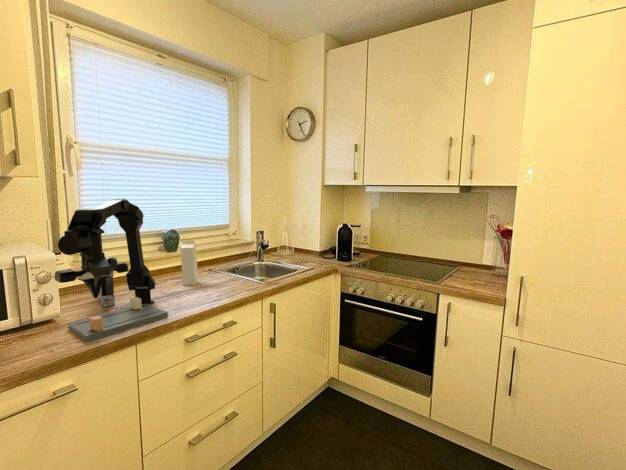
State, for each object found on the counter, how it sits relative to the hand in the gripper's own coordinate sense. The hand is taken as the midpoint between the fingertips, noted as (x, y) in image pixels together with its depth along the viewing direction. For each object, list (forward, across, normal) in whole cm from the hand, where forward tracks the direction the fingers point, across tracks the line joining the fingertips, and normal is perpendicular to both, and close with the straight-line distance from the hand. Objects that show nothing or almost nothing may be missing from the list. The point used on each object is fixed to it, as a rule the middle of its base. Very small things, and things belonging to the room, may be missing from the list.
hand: (95, 298), depth 105 cm
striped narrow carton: (+12, +16, +35) cm, 40 cm away
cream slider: (+10, +16, +10) cm, 22 cm away
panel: (+12, +9, +5) cm, 16 cm away
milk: (+12, +53, +32) cm, 63 cm away
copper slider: (+10, 0, 0) cm, 10 cm away
